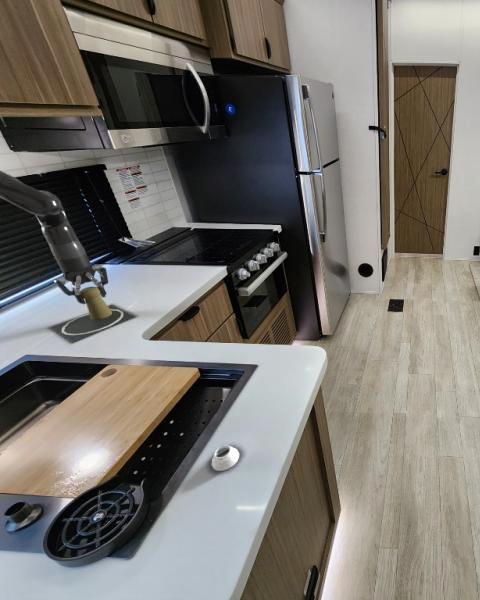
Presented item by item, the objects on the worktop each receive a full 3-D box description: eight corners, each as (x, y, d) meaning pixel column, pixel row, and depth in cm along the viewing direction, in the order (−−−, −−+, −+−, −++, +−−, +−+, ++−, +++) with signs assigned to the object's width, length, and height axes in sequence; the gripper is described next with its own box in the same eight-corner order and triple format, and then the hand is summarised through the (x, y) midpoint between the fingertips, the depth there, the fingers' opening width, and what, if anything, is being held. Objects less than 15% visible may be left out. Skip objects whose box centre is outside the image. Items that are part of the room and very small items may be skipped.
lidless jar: (217, 477, 65) (243, 460, 68) (213, 467, 64) (239, 451, 67) (209, 460, 68) (234, 446, 71) (205, 451, 67) (230, 436, 70)
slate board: (73, 343, 105) (72, 341, 105) (51, 328, 113) (49, 326, 113) (135, 317, 119) (135, 316, 118) (112, 306, 127) (111, 304, 126)
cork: (114, 314, 120) (101, 287, 115) (94, 321, 116) (79, 293, 110) (108, 309, 123) (95, 283, 118) (88, 316, 119) (73, 289, 113)
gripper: (91, 246, 115) (112, 289, 123) (36, 259, 104) (63, 306, 112) (101, 250, 112) (122, 294, 120) (46, 264, 101) (72, 311, 109)
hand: (93, 299), depth 116 cm, fingers closed on cork, 5 cm apart
